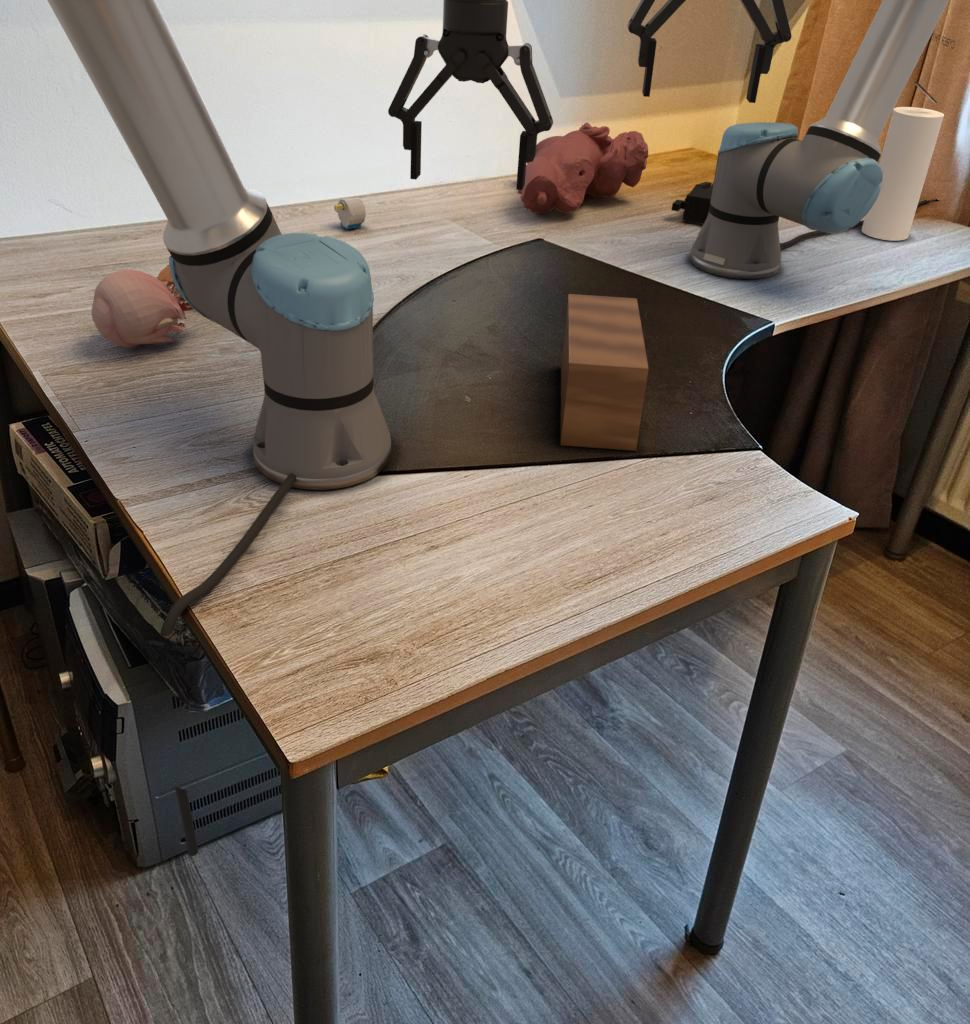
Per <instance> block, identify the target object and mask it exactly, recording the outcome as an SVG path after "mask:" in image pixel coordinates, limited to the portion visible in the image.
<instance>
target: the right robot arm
mask: <svg viewBox="0 0 970 1024" xmlns="http://www.w3.org/2000/svg"><path fill="white" fill-rule="evenodd" d="M655 1H656V0H640V2H639V3H638V5H637V6H636V8H635V10H634V12H633V14H632V15H631V17H630V19H629V20H628V22H627V30H628V32H629V33H630V34H633V35H635V36H637V37H638V38H639V47H638V54H637V63H638V64H637V65H638V67H639V68H644V74H643V84H642V92H641V93H642V96H643V97H645V98H650V97H651V96H650V95H651V90H652V89H651V87H652V80H653V71H654V66H655V65H654V64H655V58H656V50H657V40H656V38H655V37H653V36H654V35H655V34H656V33H657V32H658V31H659V30H660V29H661V28H662V27H663V25H665V23H666V22H667V21H668V20H669V19H671V17H672V16H673V15H674V14H675V13H676V11H677V10H679V8H680V7H681V6H682V5H683V4H684V3H685V2H687V0H667V1H666V2H665V3H664V4H663V5H662V6H661V7H660V9H658V11H657V12H656V13H655V14H654V15H653V16H652V17H651V18H650V19H649V20H648V21H647V23H646V24H645V25H643V22H644V20H645V18H646V17H647V16H648V14H649V12H650V10H651V8H652V6H653V5H654V3H655ZM739 1H740V3H741V4H742V7H743V9H744V10H745V12H746V14H747V16H748V17H749V19H750V21H751V22H752V25H753V26H754V28H755V30H756V31H757V33H758V35H759V37H760V38H761V41H762V43H756V44H755V48H754V53H753V58H752V64H751V69H750V75H749V81H748V86H747V91H746V97H745V99H746V100H747V102H748V103H749V104H756V101H757V97H758V92H759V85H760V80H761V76H762V75H768V74H769V72H770V70H771V65H772V60H773V54H774V51H775V48H776V47H777V45H779V44H783V43H788V42H790V41H791V39H792V38H793V37H792V36H793V35H792V32H791V27H790V23H789V19H788V15H787V11H786V7H785V1H784V0H768V1H769V6H770V8H771V9H770V10H771V13H772V17H773V21H774V25H775V29H776V31H772V30H771V28H770V26H769V25H768V23H767V21H766V19H765V17H764V16H763V14H762V12H761V10H760V8H759V6H758V5H757V2H756V0H739ZM949 2H950V0H881V3H880V5H879V7H878V9H877V11H876V13H875V15H874V17H873V19H872V21H871V23H870V25H869V27H868V30H867V31H866V33H865V35H864V37H863V39H862V41H861V44H860V46H859V47H858V50H857V51H856V54H855V55H854V57H853V60H852V61H851V63H850V66H849V67H848V70H847V72H846V74H845V76H844V79H843V80H842V82H841V84H840V86H839V88H838V90H837V92H836V94H835V97H834V99H833V100H832V103H831V105H830V106H829V109H828V110H827V112H826V115H825V116H824V117H823V118H822V119H820V120H818V121H816V122H813V123H811V124H810V125H809V127H808V128H807V130H806V133H805V135H804V136H803V138H802V140H800V139H798V137H799V127H798V126H797V125H796V124H792V123H785V122H769V121H767V122H744V123H737V124H733V125H730V126H729V127H727V128H726V129H725V130H724V132H723V134H722V138H721V141H720V145H719V149H718V151H717V158H716V166H715V172H714V177H713V178H714V179H713V182H714V183H713V182H712V184H713V189H712V196H711V202H710V208H709V214H708V217H707V219H706V221H705V223H704V224H702V227H701V228H700V230H699V232H698V234H697V236H696V238H695V240H694V242H693V244H692V248H691V250H690V256H689V261H690V263H691V264H692V265H693V266H694V267H696V268H698V269H699V270H702V271H703V272H706V273H709V274H711V275H715V276H719V277H725V278H730V279H737V280H739V279H741V280H756V279H757V280H760V279H765V278H770V277H772V276H775V275H776V274H777V273H778V272H779V271H780V268H781V262H782V251H781V249H784V248H788V247H791V246H793V245H795V244H797V243H798V242H800V241H802V240H805V239H808V238H811V237H812V238H813V237H816V236H821V235H826V234H831V235H833V234H834V235H835V234H836V235H837V234H842V233H844V232H846V231H849V229H853V228H858V227H862V226H863V223H864V219H865V216H866V214H867V213H868V212H869V211H870V209H871V208H872V206H873V205H874V203H875V201H876V199H877V197H878V195H879V192H880V189H881V186H880V185H879V184H880V183H881V182H882V180H883V172H882V169H881V167H880V165H879V161H880V159H881V155H882V150H881V146H880V143H879V138H880V136H881V134H882V132H883V131H884V128H885V127H886V124H887V122H888V120H889V119H890V116H892V114H893V110H894V108H896V105H897V103H898V101H899V99H900V97H901V95H902V93H903V91H904V90H905V87H906V86H907V83H908V82H909V80H910V78H911V76H912V74H913V72H914V69H915V68H916V66H917V64H918V62H919V60H920V58H921V56H922V54H923V53H924V50H925V48H926V46H927V44H928V43H929V40H930V39H931V37H932V36H933V35H932V33H934V31H935V29H936V27H937V25H938V24H939V21H940V19H941V17H942V15H943V13H944V11H945V9H946V7H947V5H948V4H949ZM931 35H932V36H931ZM926 203H929V201H927V200H924V201H921V202H918V206H917V207H919V206H922V205H924V204H926ZM780 218H782V219H785V220H787V221H790V222H794V223H796V224H798V225H801V226H804V227H806V229H809V230H811V231H809V232H805V233H802V234H799V235H797V236H795V237H794V238H792V239H789V240H788V241H784V242H780V231H779V220H780Z"/></svg>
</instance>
